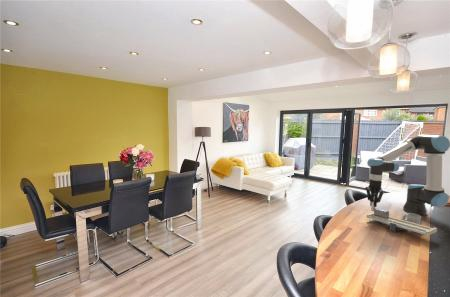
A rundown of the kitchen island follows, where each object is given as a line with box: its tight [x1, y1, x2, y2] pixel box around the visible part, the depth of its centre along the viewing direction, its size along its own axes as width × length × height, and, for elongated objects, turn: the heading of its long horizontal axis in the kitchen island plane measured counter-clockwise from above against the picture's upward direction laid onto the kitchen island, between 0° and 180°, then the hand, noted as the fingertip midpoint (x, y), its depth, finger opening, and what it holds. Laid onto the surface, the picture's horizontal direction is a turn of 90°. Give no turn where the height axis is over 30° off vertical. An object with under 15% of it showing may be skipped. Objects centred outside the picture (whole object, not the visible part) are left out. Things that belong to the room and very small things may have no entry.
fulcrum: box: [389, 218, 407, 234], centre depth 153 cm, size 15×3×6 cm, turn 117°
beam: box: [365, 212, 438, 236], centre depth 153 cm, size 12×36×2 cm, turn 27°
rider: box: [373, 207, 390, 219], centre depth 162 cm, size 4×8×6 cm, turn 27°
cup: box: [401, 212, 422, 225], centre depth 158 cm, size 7×10×9 cm
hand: (372, 210), depth 167 cm, fingers closed
